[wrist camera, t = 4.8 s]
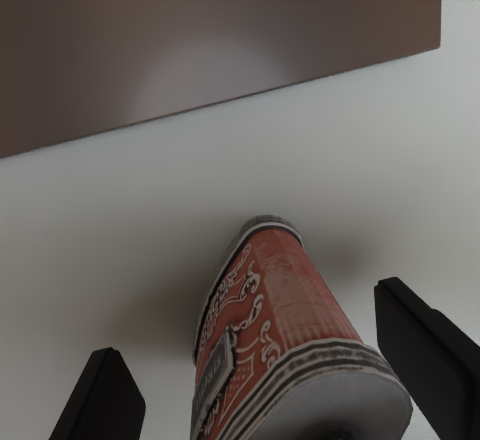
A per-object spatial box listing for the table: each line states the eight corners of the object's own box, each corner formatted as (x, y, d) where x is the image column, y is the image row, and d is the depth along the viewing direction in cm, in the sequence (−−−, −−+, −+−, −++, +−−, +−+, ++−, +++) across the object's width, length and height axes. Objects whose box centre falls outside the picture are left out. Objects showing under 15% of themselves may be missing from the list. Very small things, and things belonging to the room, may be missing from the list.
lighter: (241, 203, 11) (365, 627, 2) (315, 229, 12) (663, 635, 3) (179, 354, 14) (110, 862, 4) (244, 369, 15) (302, 834, 5)
